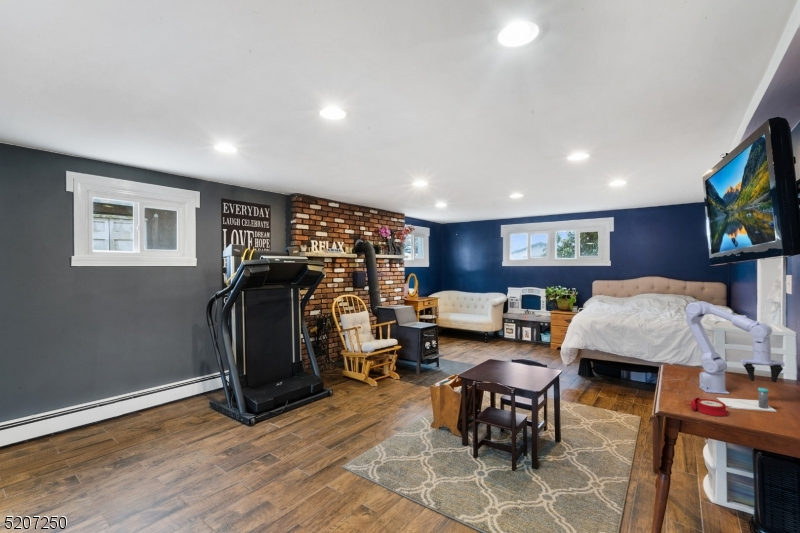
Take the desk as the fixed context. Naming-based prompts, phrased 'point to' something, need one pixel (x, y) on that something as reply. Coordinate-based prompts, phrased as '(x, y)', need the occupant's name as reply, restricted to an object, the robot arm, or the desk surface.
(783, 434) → the desk surface
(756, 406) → the notepad
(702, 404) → the alarm clock
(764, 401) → the marker
